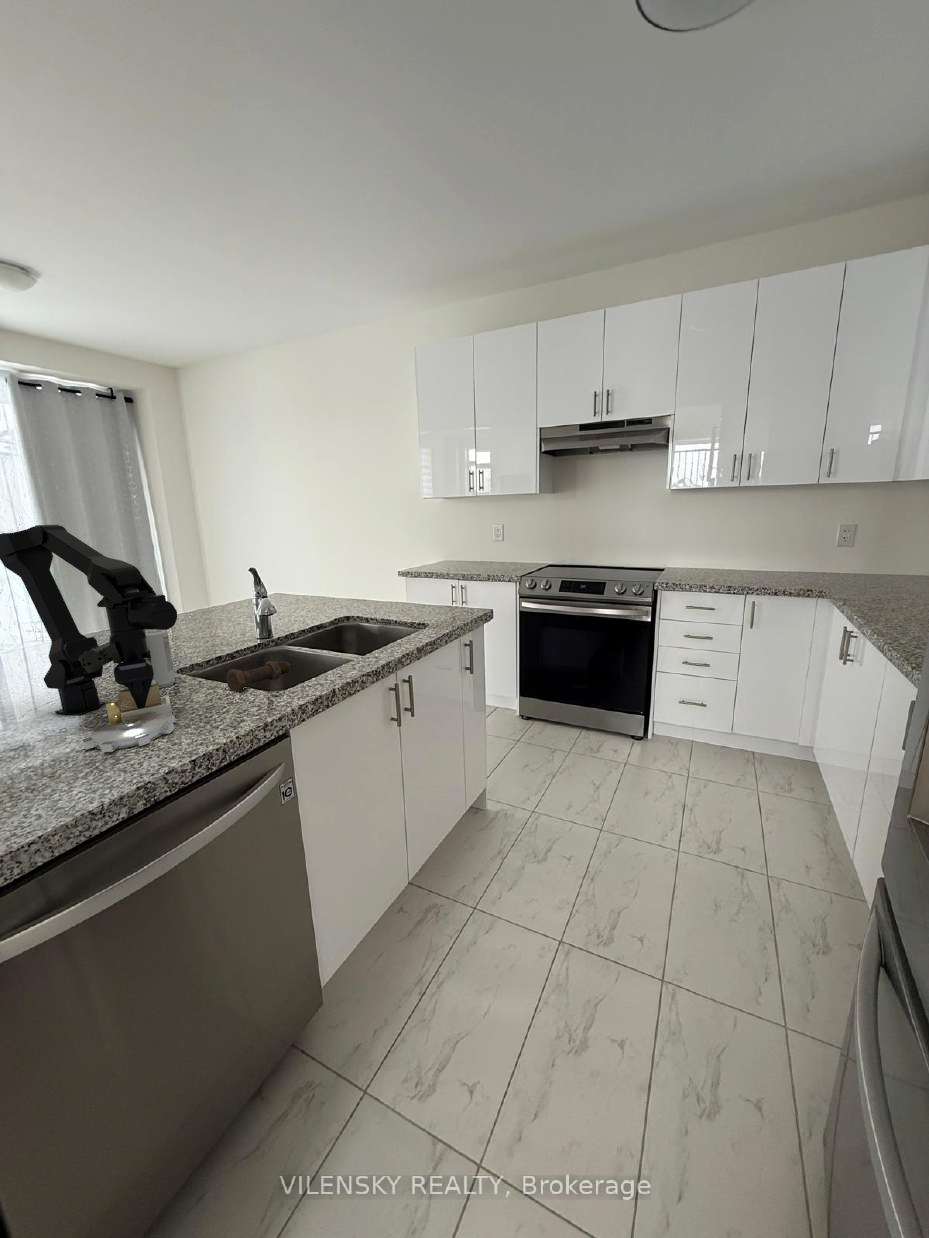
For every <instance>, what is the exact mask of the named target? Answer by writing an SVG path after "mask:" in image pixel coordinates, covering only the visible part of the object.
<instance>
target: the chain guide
mask: <svg viewBox="0 0 929 1238" xmlns="http://www.w3.org/2000/svg"><path fill="white" fill-rule="evenodd" d="M160 697H161V702H162V705H158V706H153V707H148V708H144V709H139V710H134V711H129V712H124V713H122V712H121V707H120V704H119V707H120V712H121V717H123V716H124V717H128V716H132V715H138V714H145V713H146V712H156V713H158V714H163V715H167V714H170V713H171V714H173V712H172V711H173V710H172V707H171V701H170V696H169V695H164V696H160Z"/></svg>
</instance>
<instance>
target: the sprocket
mask: <svg viewBox="0 0 929 1238" xmlns="http://www.w3.org/2000/svg"><path fill="white" fill-rule="evenodd" d="M119 705H120V702H119V700H113V701H111V700H110V701H108V702H106V704H105V706H106V707H105V708H106V713H107V716H108V717H107V718H108V722H106V723H104V724H102V725H100V726H97V727H96V726H95V727H91V728H90V729H89V730H87V731H86V734H87V737H86V738H82V739H81V742H82V746H83V748H84V749H85V750H90V749H93V748H95V749H98V750H101V753H111V752H114V751H115V750H119V749H120V750H121V749H127V748H131V747H136V746H138V747H141V746H144V745H148V744H150V743H151V741H153V740H155V739H157V738H159V737H161V736H162V735H165V734H171V732H173V731H174V730H175V726H174V723H176V717H175V714H173V713H172V714H171V713H170V714H167V715H163V714H158V713H156V712H146V713H145V714H138V715H132V716H128V717H124V716H123V717H121V712H120V707H119Z"/></svg>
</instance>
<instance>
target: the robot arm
mask: <svg viewBox="0 0 929 1238" xmlns="http://www.w3.org/2000/svg"><path fill="white" fill-rule="evenodd" d="M53 554H54V555H55V556H57V557H58V558H60V559H62V560H63V561H64V562H66V563H67V564H69V565H71V566H72V567H73V568H75V569H76V570H78V571H80V572H82V573H83V574H84V575H85V576H86V579H87V584H88V585H89V586H90V587H91V588H92V589H93V590H95V592H97V593H98V594H99V595H100V596H102V598H101V600H99V601H98V602H97V603H96V606H97V607H98V608H105V610H106V616H107V621H108V626H109V627H108V628H109V632H110V635H109V640H108V642H106V643H103V644H101V645H99V644H98V641H97V639H96V638H95V637H94V636H90V637H87V636H85V635H84V634H82V633H81V632H80V630H79V629H78V626H77V624H76V622H75V620H74V618H73V616H72V613H71V611H70V609H69V607H68V605H67V603H66V600H65V599H64V596H63V595H62V592H61V590H60V588H59V586H58V584H57V583H56V580H55V578H54V575H53V574H52V572H51V567H52V564H53V558H54V555H53ZM0 561H1V563H2V565H3V567H5V568H6V569H8V570H9V571H10V572H12V573H14V574H15V575H17V576H18V577H19V578H20V579H21V580H22V582H23V584H24V587H25V589H26V591H27V594H28V596H29V597H30V599H31V602H32V604H33V606H34V608H35V610H36V612H37V614H38V616H39V618H40V620H41V623H42V624H43V626H44V628H45V630H46V633H47V635H48V637H49V639H50V641H51V645H50V647H49V651H48V652H49V653H48V659H49V662H50V666H49V669H48V671H47V672H46V674H45V675H44V677H43V681H44V683H45V686H46V688H48V689H55V690H57V691H58V695H59V700H60V706H61V709H58V710H56V711H55V714H56V715H69V716H71V715H72V716H73V715H74V716H81V715H84V714H85V713H87V712H89V711H92V710H94V709H97V708H100V707H102V706H104V705H106V703H107V702H106V701H101V700H100V698H99V693H98V692H99V691H98V689H97V686H96V683H95V682H96V681H95V679H97V678H101V677H103V670H104V669H103V668H104V666H105V665H107V664H109V663H111V662H113V665H115V664H116V666H115V667H114V668H113V675H114V681H115V683H116V684H118V685H120V686H122V685H123V686H126V687H127V688H128V689H129V691H130V693H131V695H132V697H133V699H134V701H135V703H136V705H137V707H138V709H142V708H144V707H145V704H146V701H147V697H148V694H149V690H150V687H151V683H152V680H153V677H154V672H153V666H152V662H151V659H149V658H151V654H150V649H149V647H148V646H147V640H146V634H145V629H151V630H167V631H168V630H170V629H171V628H173V627H174V625H175V624H176V622H177V620H178V611H177V609H176V608H175V606H174V605H173V603H172V602H170V601H168V600H167V599H166V595H165V594H157V593H156V592H155V590H154V588H153V587H152V586H151V585H150V584H149V582H148V581H147V580H146V579H145V577H144V576H143V575H142V573H141V570H139V568H137V566H135V565H133V564H131V563H128V562H126V561H124V560H121V559H116V558H111V557H108V556H105V555H103V554H102V553H100V552H99V551H98V550H96V549H95V548H93V547H92V546H90V545H89V544H87V543H86V542H84V541H83V540H81V539H79V538H78V537H76V536H75V535H73V534H71V533H70V532H69V531H68V530H67V529H66V528H65V527H64V526H62V525H60V524H36V525H35V526H31V527H29V528H27V529H23V530H18V531H15V532H2V533H0ZM144 658H148V659H144Z"/></svg>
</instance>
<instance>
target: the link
mask: <svg viewBox="0 0 929 1238" xmlns="http://www.w3.org/2000/svg"><path fill="white" fill-rule="evenodd" d="M160 691H161V690H160V688H159V685H158V682H156V680H152V683H151V687H150V690H149V694H148V697H147V701H146V704H145V707H144V708H148V707H153V706H158V705H162V702H161V697H162V696H161V693H160ZM117 695H118V696H117V697H118V701H119V705H120V707H121V712H122V713H124V712H129V711H134V710H139V709H138V707H137V705H136V703H135V701H134V699H133V697H132V695H131V693H130V691H129V689H128V688H127V687H126V686H123V685H120V686H118V689H117ZM144 708H142V709H144Z"/></svg>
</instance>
